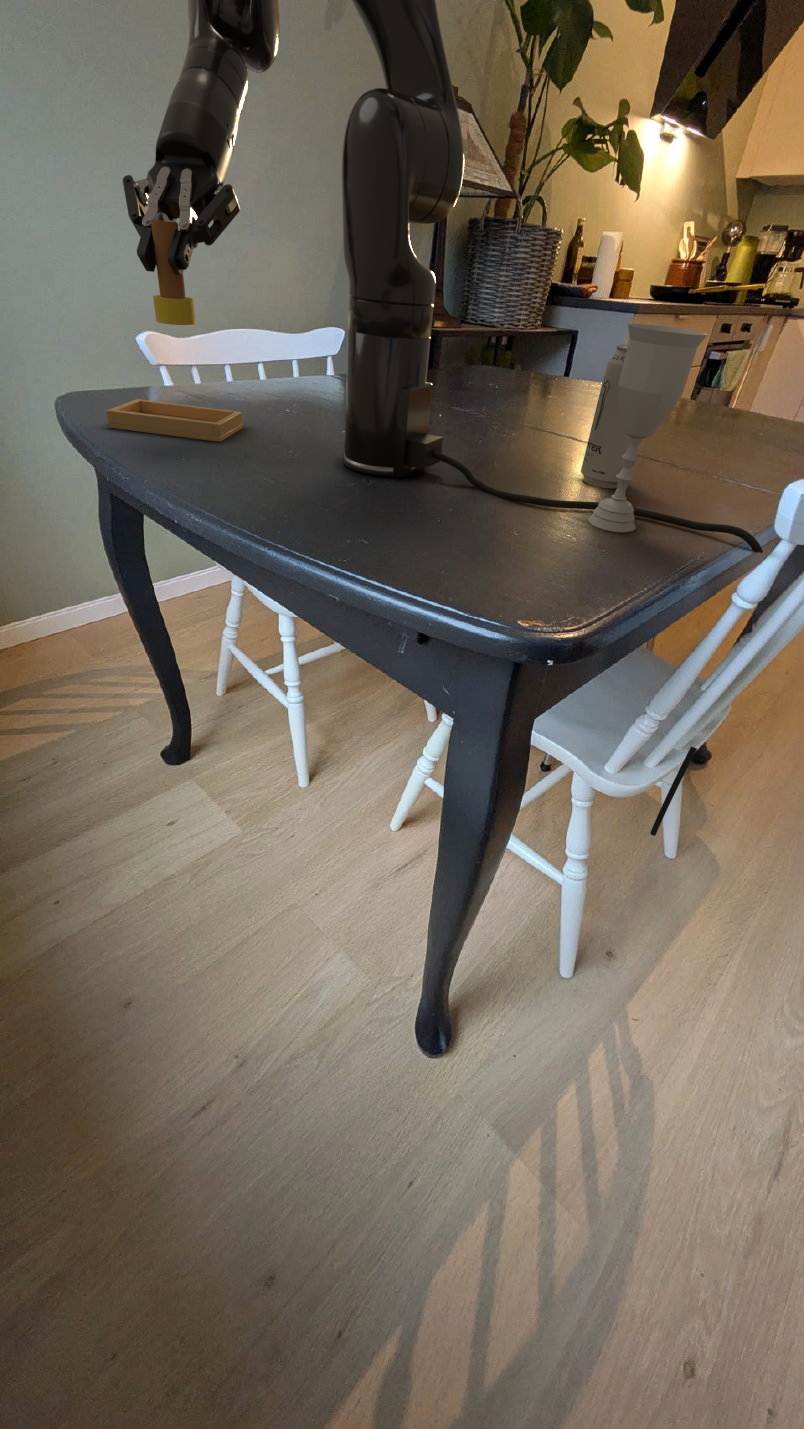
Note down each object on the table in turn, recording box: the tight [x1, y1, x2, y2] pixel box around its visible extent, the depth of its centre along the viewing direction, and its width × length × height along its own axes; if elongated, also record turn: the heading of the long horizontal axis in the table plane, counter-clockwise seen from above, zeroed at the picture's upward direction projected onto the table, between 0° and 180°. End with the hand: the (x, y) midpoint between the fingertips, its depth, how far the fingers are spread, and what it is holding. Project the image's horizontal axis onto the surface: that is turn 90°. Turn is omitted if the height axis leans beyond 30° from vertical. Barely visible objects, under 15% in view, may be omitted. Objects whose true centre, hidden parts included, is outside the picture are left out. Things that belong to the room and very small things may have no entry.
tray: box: [106, 398, 243, 443], centre depth 84 cm, size 15×8×2 cm, turn 81°
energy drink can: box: [580, 344, 630, 489], centre depth 76 cm, size 6×6×15 cm
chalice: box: [587, 323, 708, 533], centre depth 62 cm, size 7×7×18 cm
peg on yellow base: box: [151, 220, 196, 326], centre depth 72 cm, size 4×4×10 cm
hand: (160, 266), depth 70 cm, fingers closed on peg on yellow base, 3 cm apart
